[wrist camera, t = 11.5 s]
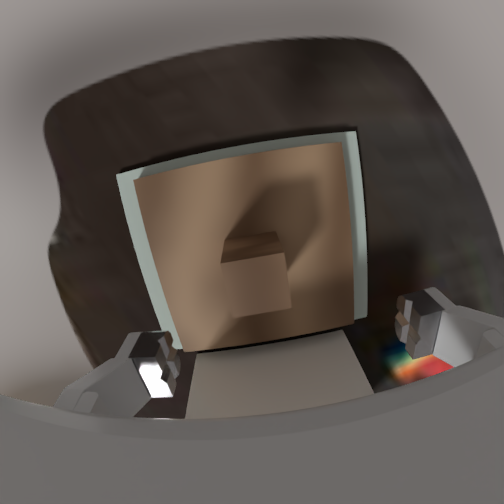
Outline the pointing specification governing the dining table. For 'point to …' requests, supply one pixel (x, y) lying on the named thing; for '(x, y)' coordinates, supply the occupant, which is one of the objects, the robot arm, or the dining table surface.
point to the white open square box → (276, 378)
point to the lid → (252, 245)
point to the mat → (345, 137)
